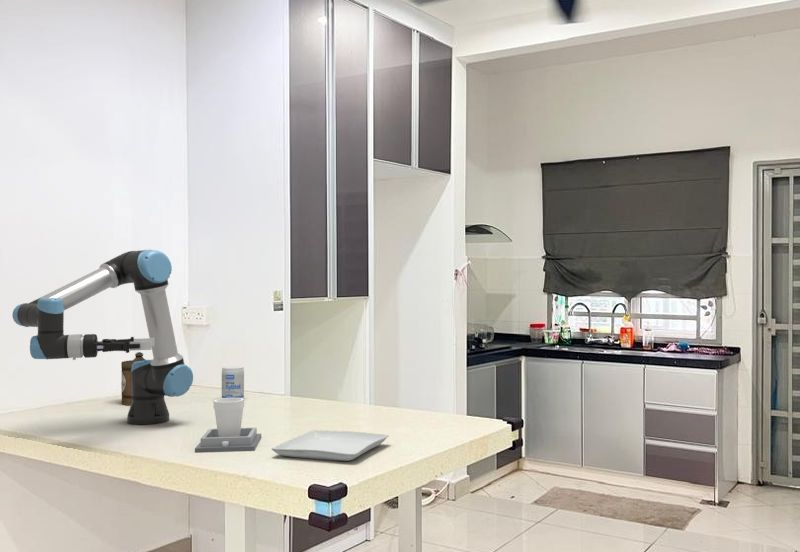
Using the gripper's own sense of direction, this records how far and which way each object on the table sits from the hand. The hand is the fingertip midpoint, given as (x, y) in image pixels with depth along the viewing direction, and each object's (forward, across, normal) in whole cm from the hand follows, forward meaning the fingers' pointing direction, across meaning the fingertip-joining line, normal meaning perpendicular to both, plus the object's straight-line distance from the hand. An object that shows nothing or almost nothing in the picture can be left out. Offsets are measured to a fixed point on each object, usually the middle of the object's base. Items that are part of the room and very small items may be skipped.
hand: (152, 343), depth 249 cm
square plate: (+54, +32, -33) cm, 71 cm away
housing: (+24, +13, -32) cm, 42 cm away
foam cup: (+24, +13, -31) cm, 41 cm away
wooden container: (-12, -86, -32) cm, 92 cm away
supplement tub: (+28, -79, -32) cm, 90 cm away
